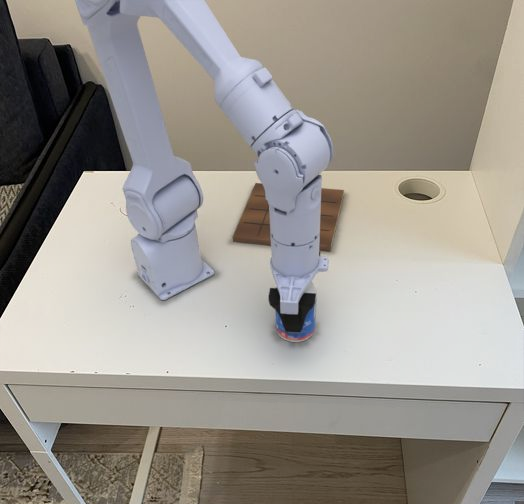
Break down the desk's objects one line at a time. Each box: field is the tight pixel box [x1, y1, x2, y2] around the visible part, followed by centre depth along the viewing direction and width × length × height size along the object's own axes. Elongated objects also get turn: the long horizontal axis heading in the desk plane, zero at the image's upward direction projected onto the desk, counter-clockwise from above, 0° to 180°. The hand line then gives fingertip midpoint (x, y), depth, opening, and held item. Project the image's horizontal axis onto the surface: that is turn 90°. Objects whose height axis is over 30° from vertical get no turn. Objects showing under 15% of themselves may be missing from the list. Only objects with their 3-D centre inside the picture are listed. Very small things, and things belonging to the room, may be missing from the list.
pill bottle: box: [274, 280, 318, 343], centre depth 72 cm, size 6×5×10 cm
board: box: [232, 182, 345, 252], centre depth 92 cm, size 16×16×1 cm
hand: (295, 314), depth 73 cm, fingers closed on pill bottle, 5 cm apart
